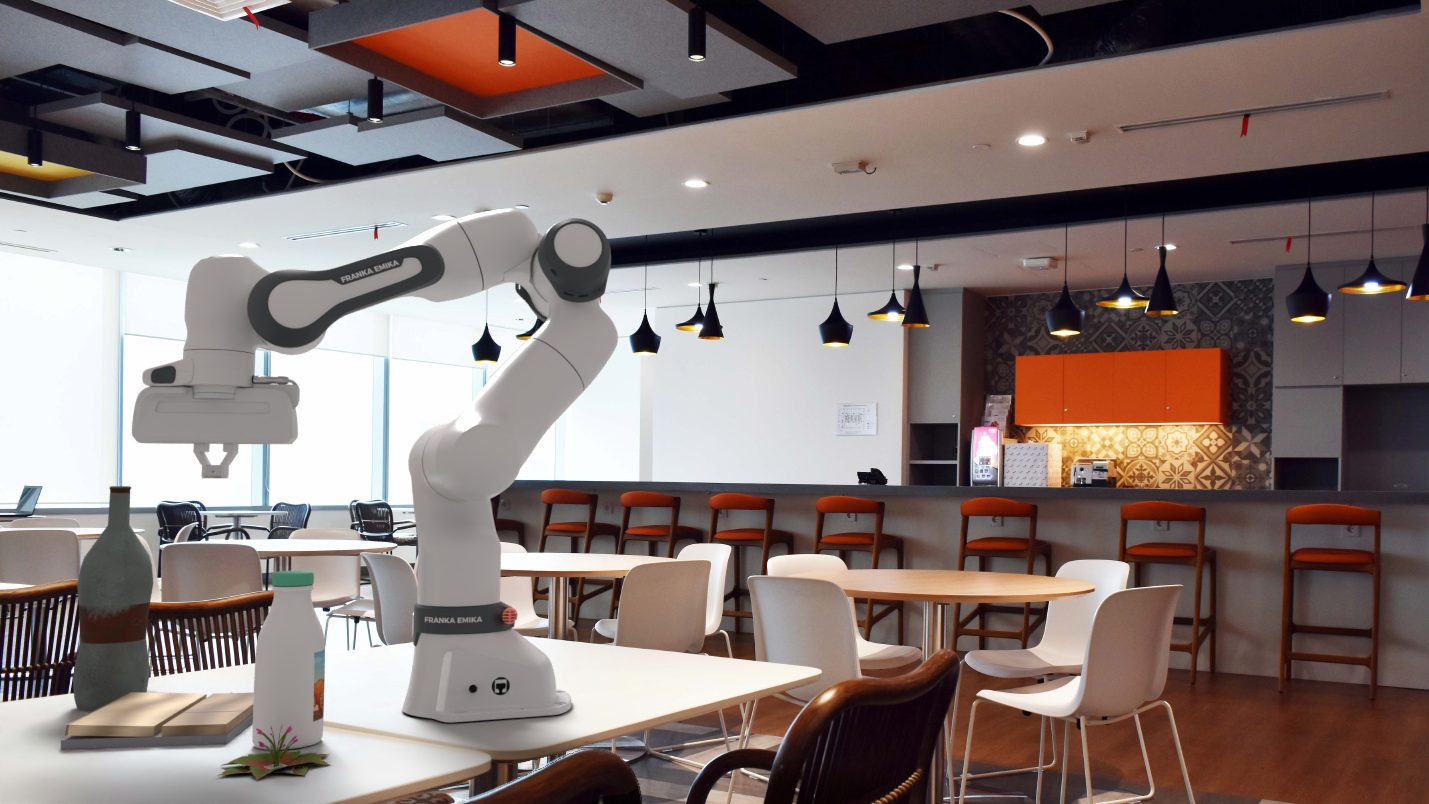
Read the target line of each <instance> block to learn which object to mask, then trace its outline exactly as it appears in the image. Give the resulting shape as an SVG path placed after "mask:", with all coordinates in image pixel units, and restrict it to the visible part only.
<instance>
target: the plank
mask: <svg viewBox="0 0 1429 804" xmlns="http://www.w3.org/2000/svg"><path fill="white" fill-rule="evenodd" d="M207 697H208V696H207V693H189V692H188V693H185V692H184V693H183V692H182V693H181V692H180V693H179V692H177V693H176V692H147V693H144V692H131V693H129V694H127V695H125V696H123V697H121V698H119V699H117V700H115V701H113V702H111V703H109V704H107V705H105V706H103V707H101V708H99V709H97V710H95V711H93V712H89V713H87V714H85V715H83V716H81V717H79V718H77V719H75V720H73V721H71V722H69V723H67V724H65V733H64V736H65V737H68V736H133V737H154V736H155V735H157V734H158V733H160V732H161V731H162V726H163V725H164V724H166V723H167V722H169V721H171V720H172V719H174V718H175V717H177V716H179V715H180V714H182V713H183V712H185V711H186V710H188V709H190V708H191V707H193V706H194V705H196V704H198V703H199V702H201V701H202V700H204V699H206V698H207Z"/></svg>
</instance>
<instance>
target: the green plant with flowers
mask: <svg viewBox="0 0 1429 804" xmlns="http://www.w3.org/2000/svg"><path fill="white" fill-rule="evenodd" d="M270 727H271V726H270ZM291 727H292V726H290V727H288V728H287V731H286V732H285V733H284V734H283V736H282V737H281V739H282V741H281V739H280V741H281V743H280V741H279V740H278V746H279V743H280V747H279V750H278V746H277V750H276V744H275V740H274V734H273V736H272V733H273V731H272V733H270V735H271V736H272V737H273V741H274V744H273V742H272V741H271V739H270V738H269V737H268V736H267V735H266V734H265V733H263V732H262V731H261V730H260V729H257V728H256V730H258V731H259V732H258V731H257V734H260V735H263V736H265V738H266V739H267V740H269V742H270V748H271V750H270V748H269V747H268V746H266V745H264V743H262V742H260V741H259V742H258V743H259V746H260V747H265V746H266V747H265V748H267V749H266V750H268V752H262V753H259V752H258V753H248V755H242V756H239V757H237V758H234V759H232V760H230V761H229V762H227V763H224V764H221V765H220V766H231V765H232V766H233V765H242V766H234V767H228V768H227V769H225V770H224V771H223V772H222V773H221V774H220V773H219V774H217V775H216V776H217V777H218V776H219V777H220V776H228V775H235V774H252V775H253V776H254V777H255V781H257V780H259V779H261V778H263V777H264V776H266V775H267V774H271V773H275V774H276V773H279V774H281V773H282V774H283V773H285V774H293V775H298V776H299V775H300V776H306V773H307V771H308V769H309V767H308V766H305V765H304V764H310V765H311V764H312V765H325V766H331V764H330V763H328V762H327V761H325V760H323V758H322V757H325V756H328V755H329V753H321V752H320V753H318V752H306V753H302V751H301V750H295V751H289V750H290V749H289V747H290V746H291V745H292V744H293V743H295V742H296V741H298V739H295V738H296V737H297V736H294V737H293V738H292V740H291V741H290V742H289V744H290V743H291V742H292V741H293V740H294V739H295V740H294V741H293V742H292V743H291V744H290V746H289V744H288V745H287V747H286V748H285V749H283V750H281V748H282V747H285V744H284V745H283V743H284V741H285V738H286V735H287V733H289V732H291V730H292V729H293V728H291ZM281 729H282V726H281ZM281 729H280V732H281ZM271 730H272V727H271ZM262 733H263V734H262ZM279 738H280V734H279ZM271 744H272V746H273V747H272V746H271ZM282 745H283V746H282ZM288 746H289V747H288ZM272 748H273V750H272ZM301 753H302V754H301ZM280 765H284V767H280ZM220 766H219V767H220ZM268 766H273V767H275V768H267V767H268ZM291 766H293V767H292V771H291V772H290V771H289V772H288V771H279V769H283V768H287V767H291ZM275 770H276V771H275ZM277 770H278V771H277Z"/></svg>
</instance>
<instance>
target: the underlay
mask: <svg viewBox="0 0 1429 804" xmlns="http://www.w3.org/2000/svg"><path fill="white" fill-rule="evenodd" d="M250 725H253V714H251V715H250V716H249V717H248V718H246V719H245V720H244V721H243V722H241V723H240V724H239V725H237V726H236V727H235V728H234V729H232V730H231V731H230V732H228V733H227V734H223V735H192V736H162V737H161V735H162V731H161V732H160V733H158V734H157V735H155V736H154V737H133V736H65V737H64V738H63V739H61V740H60V750H71V749H72V750H73V749H74V750H75V749H78V750H79V749H103V748H104V749H105V748H129V747H130V748H131V747H133V748H134V747H135V748H136V747H158V746H159V747H161V746H163V747H164V746H186V745H187V746H188V745H189V746H191V745H193V746H195V745H196V746H197V745H216V744H217V745H221V744H222V745H223V744H228V743H230V742H231V741H232V740H233V739H234V738H236V737H237V736H238V735H239V734H240V733H242V732H244V731H245V729H246V728H248V727H249V726H250Z"/></svg>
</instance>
